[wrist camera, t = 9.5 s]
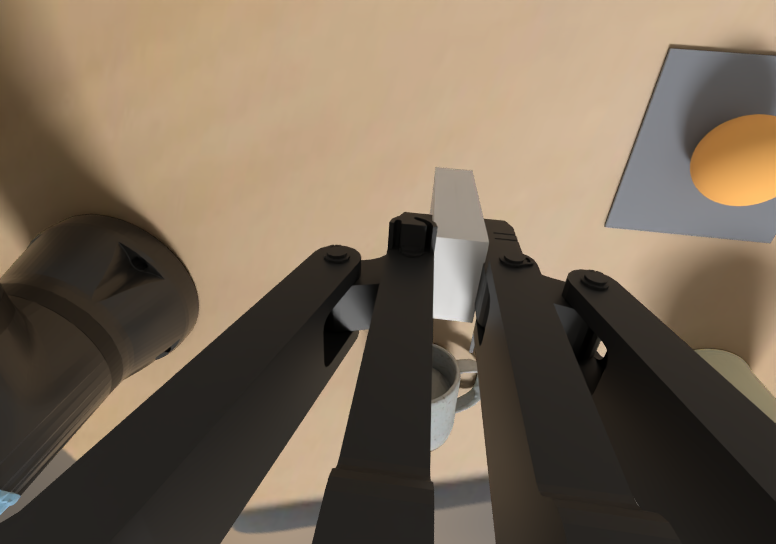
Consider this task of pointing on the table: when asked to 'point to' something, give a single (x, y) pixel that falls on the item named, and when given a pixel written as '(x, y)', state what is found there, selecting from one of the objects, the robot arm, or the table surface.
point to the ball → (737, 161)
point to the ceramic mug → (448, 392)
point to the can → (741, 378)
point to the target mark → (680, 138)
